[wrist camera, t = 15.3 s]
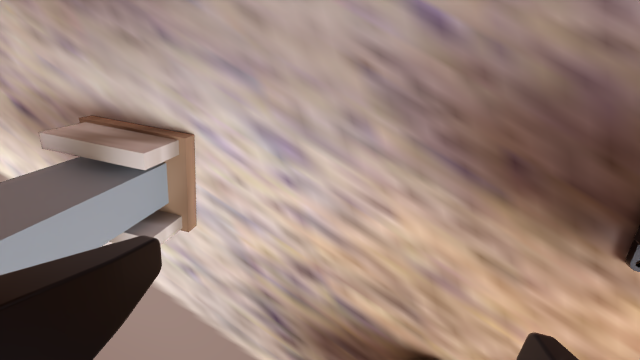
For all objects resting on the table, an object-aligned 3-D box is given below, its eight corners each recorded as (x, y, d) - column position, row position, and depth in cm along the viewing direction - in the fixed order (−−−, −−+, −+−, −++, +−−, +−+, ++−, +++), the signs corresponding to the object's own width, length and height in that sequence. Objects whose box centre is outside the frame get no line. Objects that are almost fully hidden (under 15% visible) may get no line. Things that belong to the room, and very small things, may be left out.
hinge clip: (194, 134, 22) (151, 151, 18) (196, 225, 25) (159, 256, 21) (91, 115, 23) (30, 127, 19) (104, 203, 26) (52, 229, 22)
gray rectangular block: (166, 163, 22) (-45, 261, 12) (168, 202, 23) (-21, 325, 13) (89, 147, 23) (-169, 224, 13) (95, 186, 24) (-137, 287, 14)
